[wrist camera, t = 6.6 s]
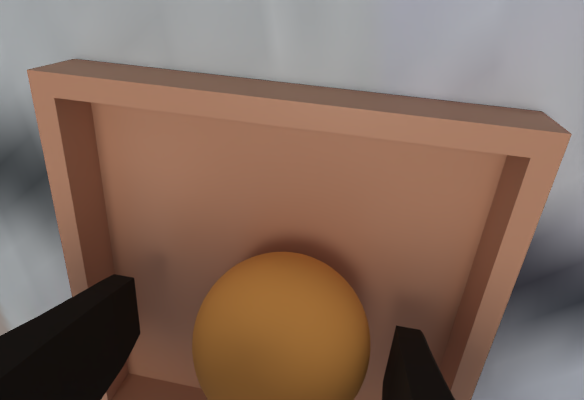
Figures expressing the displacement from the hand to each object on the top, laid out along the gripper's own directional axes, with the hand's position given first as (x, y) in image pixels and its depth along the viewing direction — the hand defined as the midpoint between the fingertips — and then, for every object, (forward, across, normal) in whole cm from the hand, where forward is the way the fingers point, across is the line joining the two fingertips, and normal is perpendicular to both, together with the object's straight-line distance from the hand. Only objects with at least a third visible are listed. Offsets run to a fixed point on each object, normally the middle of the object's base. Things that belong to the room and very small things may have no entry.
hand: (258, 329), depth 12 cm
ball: (0, -1, 0) cm, 1 cm away
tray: (+2, 0, 0) cm, 2 cm away
